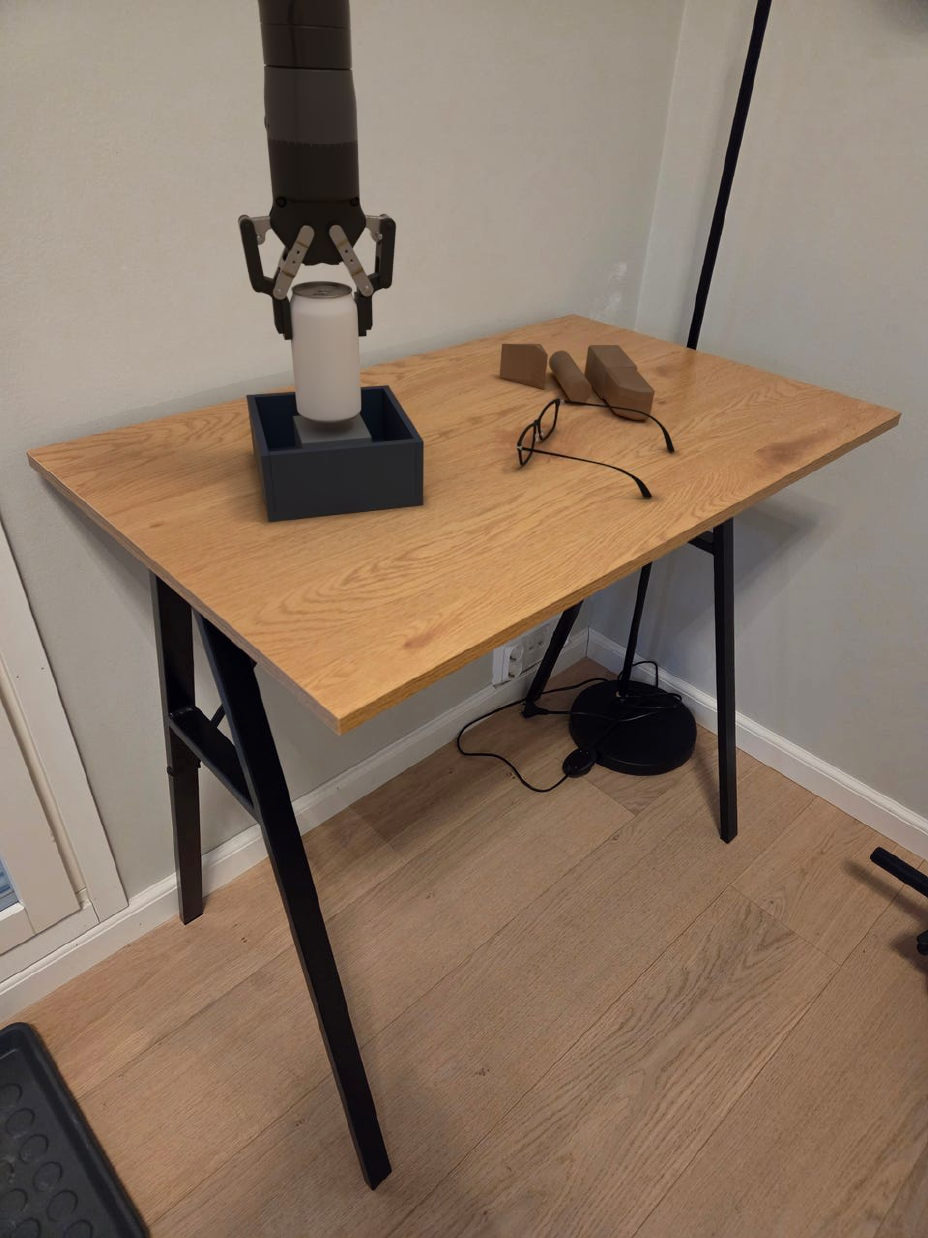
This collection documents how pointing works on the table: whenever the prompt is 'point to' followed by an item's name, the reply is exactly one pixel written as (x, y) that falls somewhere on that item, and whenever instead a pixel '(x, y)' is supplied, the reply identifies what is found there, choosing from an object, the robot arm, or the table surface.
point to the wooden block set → (582, 375)
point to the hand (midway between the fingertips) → (325, 335)
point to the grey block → (329, 433)
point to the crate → (336, 460)
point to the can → (325, 351)
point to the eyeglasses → (537, 424)
